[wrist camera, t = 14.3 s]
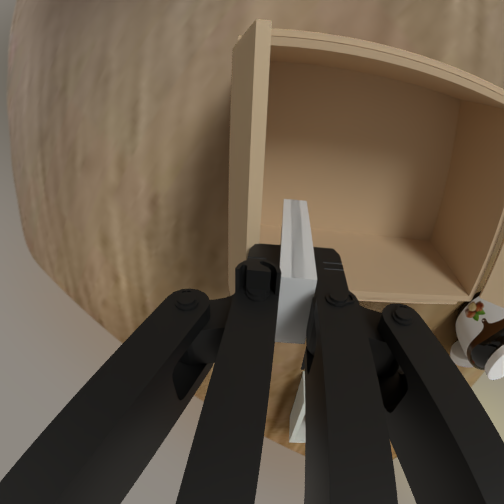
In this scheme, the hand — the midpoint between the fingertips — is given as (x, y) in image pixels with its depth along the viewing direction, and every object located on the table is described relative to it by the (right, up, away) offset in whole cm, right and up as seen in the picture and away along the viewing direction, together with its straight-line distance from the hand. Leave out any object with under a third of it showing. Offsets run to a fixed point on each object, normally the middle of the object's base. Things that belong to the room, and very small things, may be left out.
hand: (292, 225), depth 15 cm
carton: (+9, +8, +13) cm, 18 cm away
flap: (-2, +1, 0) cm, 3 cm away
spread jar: (+33, -12, +22) cm, 41 cm away
